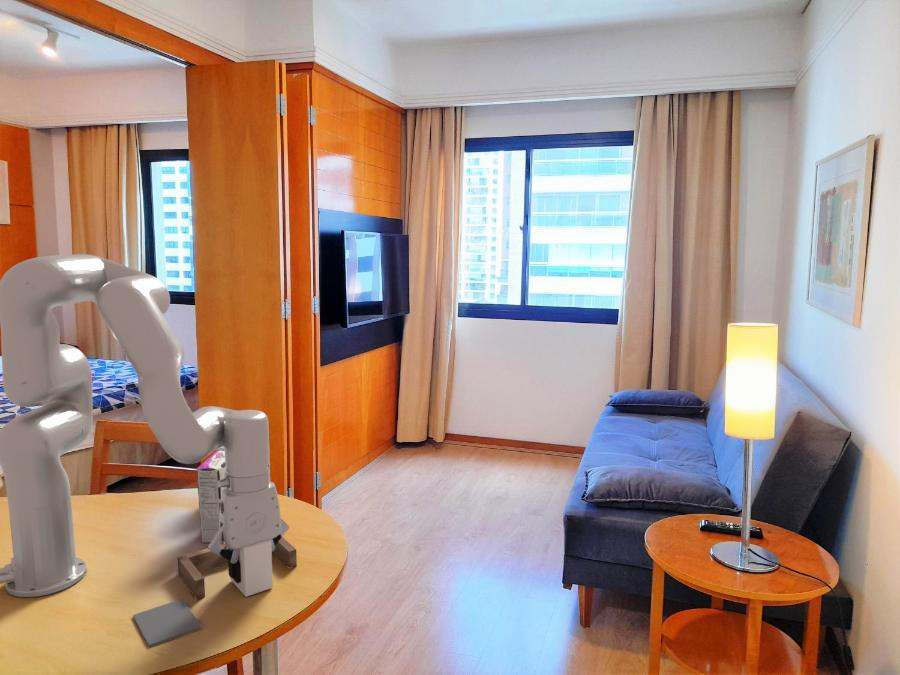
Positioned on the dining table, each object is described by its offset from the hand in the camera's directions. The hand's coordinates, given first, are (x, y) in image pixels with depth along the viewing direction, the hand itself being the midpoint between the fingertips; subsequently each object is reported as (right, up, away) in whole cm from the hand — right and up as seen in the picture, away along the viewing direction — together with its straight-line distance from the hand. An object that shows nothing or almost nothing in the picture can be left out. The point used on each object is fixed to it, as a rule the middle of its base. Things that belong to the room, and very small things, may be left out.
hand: (251, 573), depth 117 cm
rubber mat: (-10, -4, -11) cm, 16 cm away
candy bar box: (-13, +1, +21) cm, 25 cm away
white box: (0, -2, 0) cm, 2 cm away
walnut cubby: (-4, -1, +5) cm, 6 cm away
